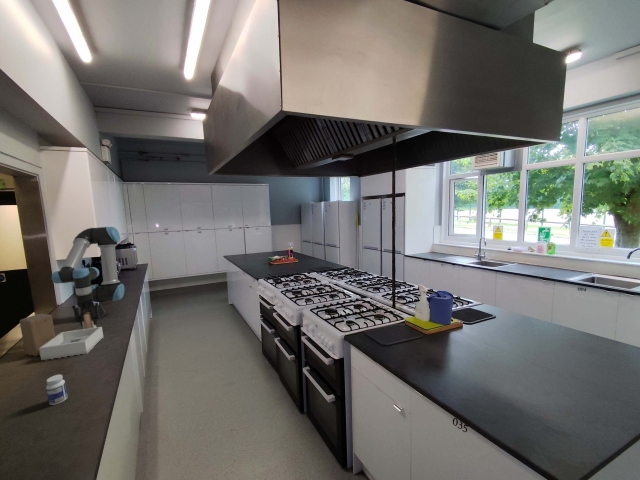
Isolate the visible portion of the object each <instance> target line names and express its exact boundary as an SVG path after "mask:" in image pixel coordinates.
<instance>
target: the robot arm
mask: <svg viewBox="0 0 640 480" xmlns="http://www.w3.org/2000/svg"><path fill="white" fill-rule="evenodd" d="M120 241H121V236H120V232H119V230H118V229H117V228H116V227H114V226H102V227H89V228H86V229H83V230H82V231H81V232H79V233H78V234H77V235H76V236H75V238H73V241H72V247H71V249H70V251H69V253H68V255H67V256H66V258H65V260H64V262H63V263H62V266H61V268H60V270H57V271H53V273H52V274H51V281H52V282H53V283H54V284H67V283H74V289H75V295H76V296H75V297H76V301H77V302H76V304H74V305H72V306H71V308H72V310H73V312H74V317H75V321H76V322H79V323H80V326H81V327H82V329H85V323H84V316H83V314H84V313H87V312H90V315H91V317H92V321H91V323H92V328H96V327H97V325H98V320H99V319H100V318H99V317H102V316H104V315H105V314H106V310H105V309H104V307H103V305H102V303H106V302H107V303H109V302H116V301H120V300H122V299H123V298H124V294H125V285H124V283H121V281H120V280H119V277H118V266H117V265H118V264H117V253H116V247H117V246H118V243H119V242H120ZM95 244H97V247H98V248H100V259H101V269H102V279H103V280H102V282H101V284H100V286H99V284H98V283H97V284H92V283H91V282H92V280H95V279H96V278H97V277H99V276H100V270H99V269H98V268H97V267H94V266H90V267H79V266H80V264H81V262H82V260H83V257H84V255H85V253H86V251H87V249H88V248H90V247H91V245H95ZM79 308H80V310H79ZM105 316H106V315H105ZM105 316H104V317H105ZM98 318H99V319H98ZM102 318H103V317H102Z"/></svg>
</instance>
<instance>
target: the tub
mask: <svg viewBox="0 0 640 480" xmlns="http://www.w3.org/2000/svg"><path fill="white" fill-rule="evenodd" d="M102 338H103V339H104V332H103V327H102V326H99V327H98V326H96V328H89V329H83V328H82V329H74V330H68V331H62V332H60V333H58V334H57V335H55V337H54V338H53V339H52V340H50V341H49V342H47V343H46V344H44V345H43V346H42V347H40V348H39V350H40V355H39V356H40V361H41V360H45V361H48V360H47V359H51V360H55V359H54V358H58V359H62V358H61V357H64V358H68V357H67V356H70V357H75V356H74V355H77V356H81V355H80V354H83V355H88V354H89V352H91V350H93V349H94V348H95V347H96V346H97V345H98V344H99V343H98V342H99V341H100V340H101V339H102ZM103 339H102V340H103ZM102 340H101V341H102ZM101 341H100V342H101ZM97 343H98V344H97ZM96 344H97V345H96ZM95 345H96V346H95ZM94 346H95V347H94Z"/></svg>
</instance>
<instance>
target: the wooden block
mask: <svg viewBox="0 0 640 480" xmlns="http://www.w3.org/2000/svg"><path fill="white" fill-rule="evenodd" d="M19 325H20V330H21V335H22V336H21V337H22V341H23V346H24V352H25V355H27V354H28V355H27V356H31V355H34V356H33V357H38V356H37V355H39V354H40V350H39V348H40V347H42V346H43V345H44V344H46V343H47V342H49V341H50V340H52V339H53V338H54V337H56V333H55V327H54V321H53V316H52V315H51V314H45V313H38V314H35V315H32V316H28V317H25V318H21V319H20V320H19ZM39 356H40V355H39Z"/></svg>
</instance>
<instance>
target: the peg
mask: <svg viewBox="0 0 640 480" xmlns="http://www.w3.org/2000/svg"><path fill="white" fill-rule="evenodd" d="M83 316H84V323H85V329H89V328H92V323H91V321H92V317H91V315H90V312H87V313H84V314H83Z"/></svg>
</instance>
